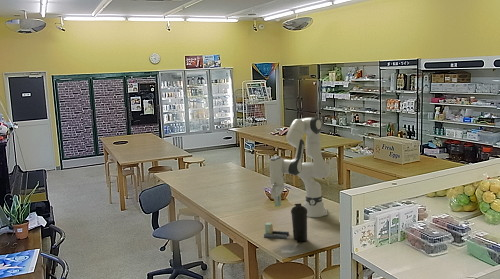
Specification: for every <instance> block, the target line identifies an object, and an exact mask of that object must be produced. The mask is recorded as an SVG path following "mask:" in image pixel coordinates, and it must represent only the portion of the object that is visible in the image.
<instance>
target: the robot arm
mask: <svg viewBox="0 0 500 279" xmlns="http://www.w3.org/2000/svg"><path fill="white" fill-rule="evenodd" d="M322 126H323V123H322V121H321V119H320V118H319V117H314V116H312V117H303V118H302V117H301V118H296V119H293V121H292V122H291V123H290V126H289V128H288V131H287V132H286V134H285V136H286V137H285V138H286V139H285V140H286V141H287V143H288V144H289V145H290V146H291V147H294V148H295V155H294V158H293V159H289V158H288V159H287V158H283V157H282V156H280V155H274V156H271V157H270V159H269V163H268V164H269V165H268V166H269V173H270V174H269V180H270V181H269V183H270V185H271V186H270V199H273V200H274V199H275V202H276V203H278V196H279V195H280V194H281V195H282V192H284V189H285V177H284V174H286V175H287V174H288V175H292V176H297V177H299V178H300V179H301V180H302V182H303V184H304V186H305V187H304V188H305V201H304V203H303V206H304V207H305V208H306V209H307V218H320V217H324V216H327V215H328V211H327V210H328V209H327V207H325V204H324V201H323V195H322V186H321V184H320V183H319V182H317V181H316V180H315V179H323V178H328V177H329V176H330V174H331V173H332V172H331V166H330V165H329V163H327V162H326V161H325V159H324V157H323V154H322V137H321V132H320V131H321V130H322ZM304 134H306V136H305V137H306V138H305V141H304V140H303V138H304ZM304 153H305V154H306V156H307V157H308V158H311V159H312V161H311V162H310V161H309V162H303V156H304ZM314 178H315V179H314Z"/></svg>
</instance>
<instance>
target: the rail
mask: <svg viewBox="0 0 500 279" xmlns="http://www.w3.org/2000/svg"><path fill="white" fill-rule="evenodd" d="M289 236H290V231H283V230H282V231H281V230H273V234H266V233H263V239H268V240H269V239H272V240H273V239H274V240H284V241H285V240H286V241H287V239H288V237H289Z"/></svg>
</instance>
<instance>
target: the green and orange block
mask: <svg viewBox="0 0 500 279" xmlns="http://www.w3.org/2000/svg"><path fill="white" fill-rule="evenodd" d="M264 231H265V233H264V234H273V231H274V226H273V223H272V222H265V224H264Z"/></svg>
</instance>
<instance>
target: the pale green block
mask: <svg viewBox="0 0 500 279" xmlns="http://www.w3.org/2000/svg"><path fill="white" fill-rule="evenodd" d="M273 204H274V207H277V208H278V207H279V208H280V207H281V206H282V193H281V194H280V195H279V196H278V203H276V202H275V199H273Z"/></svg>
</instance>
